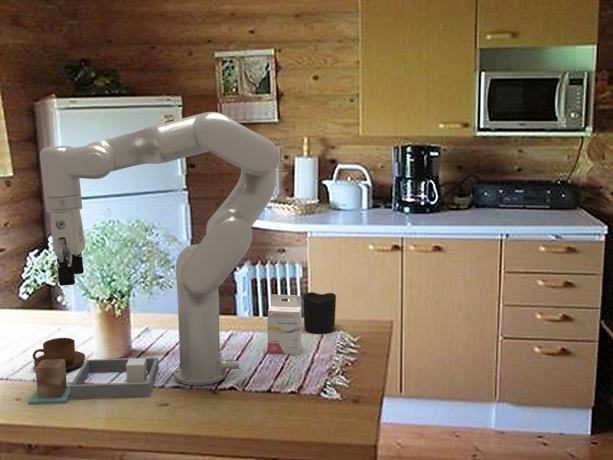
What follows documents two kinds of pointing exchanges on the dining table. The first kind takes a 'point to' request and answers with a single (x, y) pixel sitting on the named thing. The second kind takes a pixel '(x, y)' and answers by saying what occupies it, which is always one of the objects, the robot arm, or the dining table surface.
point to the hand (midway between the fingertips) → (72, 279)
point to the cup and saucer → (60, 352)
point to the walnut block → (51, 378)
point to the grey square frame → (112, 389)
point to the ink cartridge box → (284, 325)
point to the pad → (63, 399)
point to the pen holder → (319, 312)
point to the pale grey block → (136, 370)
